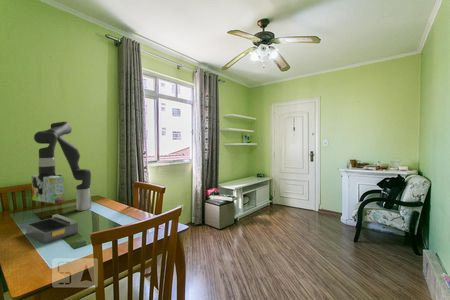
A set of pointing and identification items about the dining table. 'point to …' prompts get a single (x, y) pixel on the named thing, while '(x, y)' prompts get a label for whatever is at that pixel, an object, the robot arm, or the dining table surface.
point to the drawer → (52, 228)
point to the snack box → (49, 190)
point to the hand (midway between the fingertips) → (47, 193)
